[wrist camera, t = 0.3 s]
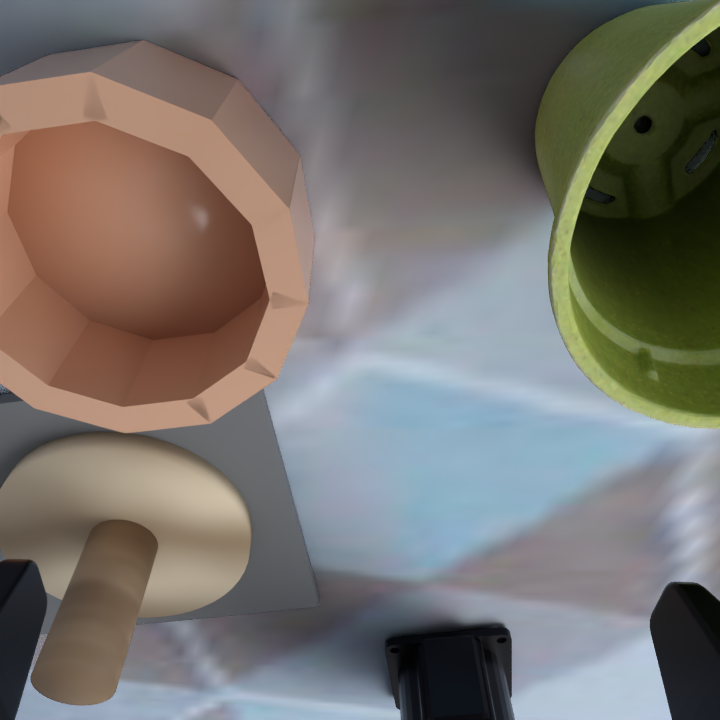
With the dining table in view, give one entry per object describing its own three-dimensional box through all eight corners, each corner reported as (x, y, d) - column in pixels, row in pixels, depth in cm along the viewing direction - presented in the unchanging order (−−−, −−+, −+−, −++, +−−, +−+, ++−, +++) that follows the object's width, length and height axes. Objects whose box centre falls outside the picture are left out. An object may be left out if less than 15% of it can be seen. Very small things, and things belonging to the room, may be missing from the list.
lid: (274, 587, 30) (258, 744, 25) (61, 608, 31) (-5, 767, 25) (218, 417, 24) (178, 571, 19) (-44, 447, 25) (-161, 606, 19)
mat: (319, 596, 32) (318, 607, 31) (44, 623, 32) (39, 634, 32) (256, 363, 24) (254, 373, 23) (-104, 407, 25) (-113, 417, 24)
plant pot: (425, 208, 21) (467, 361, 14) (582, -139, 16) (780, -187, 9) (668, 297, 23) (818, 472, 16) (875, 14, 18) (1234, 77, 11)
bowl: (332, 330, 23) (330, 409, 19) (62, 364, 24) (10, 446, 20) (275, 19, 18) (256, 46, 14) (-77, 73, 18) (-186, 112, 14)
